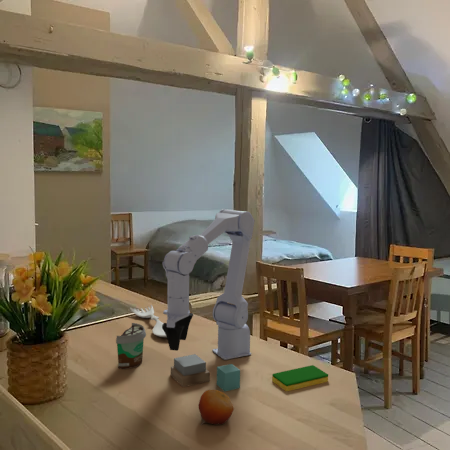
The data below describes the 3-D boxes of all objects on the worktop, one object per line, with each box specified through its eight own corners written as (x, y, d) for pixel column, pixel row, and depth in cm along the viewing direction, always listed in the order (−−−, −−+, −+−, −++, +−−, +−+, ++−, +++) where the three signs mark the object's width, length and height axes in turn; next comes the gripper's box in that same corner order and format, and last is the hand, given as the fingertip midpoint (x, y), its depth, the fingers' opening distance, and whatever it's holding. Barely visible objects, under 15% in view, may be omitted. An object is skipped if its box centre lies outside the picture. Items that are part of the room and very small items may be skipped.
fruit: (189, 406, 122) (207, 378, 121) (218, 422, 123) (236, 394, 122) (190, 424, 114) (209, 394, 113) (220, 440, 115) (239, 411, 114)
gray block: (195, 362, 144) (195, 354, 144) (205, 371, 139) (206, 362, 138) (173, 367, 141) (173, 358, 141) (184, 376, 136) (184, 367, 135)
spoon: (151, 312, 197) (151, 303, 197) (185, 339, 169) (185, 329, 169) (129, 315, 193) (129, 306, 193) (159, 343, 165) (159, 333, 165)
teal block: (231, 381, 139) (231, 363, 138) (239, 388, 135) (240, 370, 134) (216, 384, 137) (216, 366, 136) (224, 391, 133) (225, 373, 132)
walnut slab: (196, 371, 145) (196, 361, 145) (209, 382, 139) (209, 372, 138) (170, 377, 142) (170, 366, 141) (182, 388, 135) (182, 378, 134)
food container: (137, 372, 143) (136, 338, 141) (116, 370, 144) (115, 336, 142) (152, 355, 155) (152, 323, 153) (132, 354, 156) (132, 322, 154)
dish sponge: (328, 383, 140) (329, 374, 139) (286, 393, 133) (286, 384, 133) (312, 372, 146) (313, 364, 145) (271, 382, 140) (271, 373, 139)
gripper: (171, 287, 145) (171, 334, 147) (155, 302, 131) (155, 353, 133) (196, 289, 144) (195, 336, 146) (182, 304, 130) (181, 355, 132)
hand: (178, 344), depth 139 cm, fingers open, 7 cm apart
